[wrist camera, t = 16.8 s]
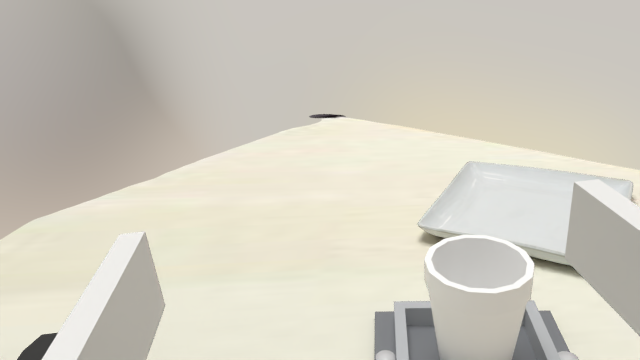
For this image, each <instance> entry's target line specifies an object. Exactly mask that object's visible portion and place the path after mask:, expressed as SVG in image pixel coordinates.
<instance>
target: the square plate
mask: <svg viewBox="0 0 640 360" xmlns="http://www.w3.org/2000/svg"><path fill="white" fill-rule="evenodd" d="M595 179H599V180H601V181H602V182H604V183H605V184H607V185H608V186H609V187H611V188H612V189H614V190H615V191H617V192H618V193H620V194H621V195H623V196H624V197H626V198H627V199H629V200H630V201H631V197H632V192H633V183H632V182H631V181H629V180H623V179H615V178H608V177H601V176H594V175H587V174H581V173H574V172H566V171H558V170H550V169H542V168H534V167H525V166H515V165H505V164H494V163H484V162H474V161H469V162H467V163H466V164H465V165H464V167H463V168H462V169H461V170H460V171H459V173H458V174H457V175H456V177H455V178H454V179H453V180H452V182H451V183H450V184H449V185H448V187H447V188H446V189H445V190H444V192H443V193H442V194H441V195H440V196H439V198H438V199H437V200H436V201H435V202H434V203H433V205H432V206H431V207H430V208H429V209H428V211H427V212H426V213H425V214H424V215H423V217H422V218H421V219H420V221H419V222H418V226H419V227H420V228H422V229H423V230H424V231H426V232H428V233H429V234H432V235H435V236H439V237H443V238H450V237H455V236H460V235H487V236H491V237H495V238H499V239H503V240H507V241H509V242H511V243H513V244H514V245H516V246H518V247H520V248H521V249H523V250H525V251H526V252H527V254H528V255H529V256H531V257H535V258H540V259H544V260H548V261H552V262H556V263H560V264H565V265H570V266H572V265H571V264H570V263H569V262H568V261H567V260H566V259H565V251H566V243H567V235H568V226H569V218H570V210H571V202H572V194H573V186H574V182H578V181H587V180H595Z"/></svg>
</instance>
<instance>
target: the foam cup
mask: <svg viewBox="0 0 640 360" xmlns="http://www.w3.org/2000/svg"><path fill="white" fill-rule="evenodd" d="M424 269H425V283H426V285H427V288H428V291H429V297H430V303H431V309H432V315H433V321H434V327H435V333H436V339H437V345H438V351H439V357H440V360H512V357H513V353H514V349H515V346H516V342H517V338H518V335H519V331H520V327H521V323H522V320H523V316H524V312H525V308H526V305H527V302H528V301H529V300H530V299H531V292H532V284H533V274H534V262H533V261H532V259H531V258H530V257H529V255H528V254H527V252H526V251H525V250H523V249H521V248H520V247H518V246H516V245H514V244H513V243H511V242H509V241H507V240H503V239H499V238H495V237H491V236H487V235H460V236H455V237H450V238H446V239H443V240H441V241H440V242H438V243H436V244H435V245H433V246H431V247H430V248H429V250H428V253H427V255H426V257H425V259H424Z"/></svg>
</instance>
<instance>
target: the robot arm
mask: <svg viewBox="0 0 640 360" xmlns="http://www.w3.org/2000/svg"><path fill="white" fill-rule="evenodd" d="M565 259H566V260H567V261H568V262H569V263H570V264H571V265H572V266H573V268H574V269H575V270H576V271H577V272H578V273H579V274H580V275H581V276H582V277H583V278H584V279H585V280H586V281H587V282H588V283H589V284H590V285H591V286H592V287H593V288H594V289H595V290H596V291H597V292H598V293H599V295H600V296H601V297H602V298H603V299H604V300H605V301H606V302H607V303H608V304H609V305H610V306H611V307H612V308H613V309H614V310H615V311H616V312H617V313H618V314H619V315H620V316H621V317H622V318H623V319H624V320H625V322H626V323H627V324H628V325H629V326H630V327H631V328H632V329H633V330H634V331H635V332H636V333H637V334H638V335H639V336H640V207H639V206H638V205H636V204H635V203H633V202H632V201H630V200H629V199H627V198H626V197H624V196H623V195H621V194H620V193H618V192H617V191H615V190H614V189H612V188H611V187H609V186H608V185H607V184H605V183H604V182H602V181H601V180H599V179H595V180H587V181H578V182H574V186H573V194H572V202H571V210H570V218H569V226H568V235H567V243H566V251H565ZM164 308H165V303H164V299H163V295H162V292H161V288H160V284H159V281H158V277H157V273H156V270H155V266H154V262H153V259H152V255H151V251H150V248H149V244H148V240H147V237H146V233H145V231H144V232H135V233H127V234H119V236H118V238H117V239H116V241H115V242H114V244H113V246H112V247H111V249H110V250H109V252H108V254H107V255H106V257H105V258H104V260H103V262H102V263H101V265H100V266H99V268H98V270H97V271H96V273H95V274H94V276H93V278H92V279H91V281H90V282H89V284H88V286H87V287H86V289H85V291H84V292H83V294H82V295H81V297H80V299H79V300H78V302H77V303H76V305H75V307H74V308H73V310H72V311H71V313H70V315H69V316H68V318H67V319H66V321H65V323H64V324H63V326H62V327H61V329H60V331H59V332H58V333H52V334H44V335H41V336H40V337H39V338H38V339H36V340H35V341H34V342H33V343H32V344H31V345H29V346H28V347H27V348H26V349H25V350H24V351H23V352H22V353H21V355H20V356H19V358H18V359H17V360H146V359H147V356H148V353H149V350H150V347H151V345H152V342H153V339H154V336H155V333H156V330H157V328H158V325H159V322H160V319H161V316H162V314H163V311H164Z"/></svg>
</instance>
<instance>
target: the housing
mask: <svg viewBox="0 0 640 360" xmlns="http://www.w3.org/2000/svg"><path fill="white" fill-rule="evenodd" d="M375 360H440V357H439V351H438V345H437V339H436V333H435V327H434V321H433V315H432V309H431V303H430V301H401V302H394V312H375ZM512 360H579V359H578V357H577V356H576V355H575V354H573V353H571V352H570V351H569V349H568V347H567V345H566V343H565V341H564V339H563V337H562V335H561V333H560V331H559V329H558V326H557V324H556V322H555V320H554V318H553V316H552V314H551V312H550V311H538V308H537V306H536V304H535V302H534V300H529V301H528V302H527V305H526V308H525V312H524V316H523V320H522V323H521V327H520V331H519V335H518V338H517V342H516V346H515V349H514V353H513V357H512Z"/></svg>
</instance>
